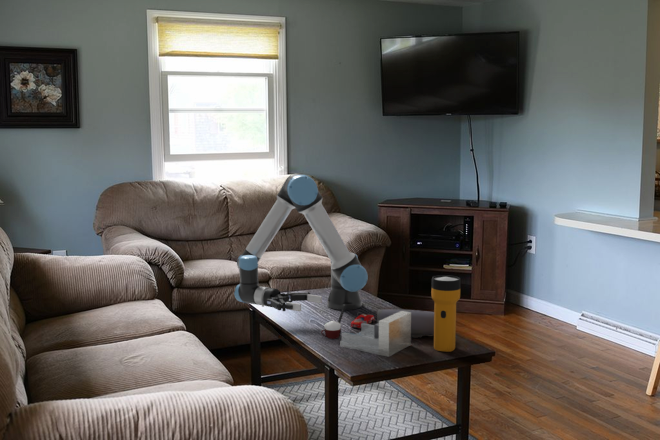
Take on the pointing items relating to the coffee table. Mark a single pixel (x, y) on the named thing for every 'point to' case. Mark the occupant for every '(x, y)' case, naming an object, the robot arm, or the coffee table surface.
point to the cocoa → (333, 327)
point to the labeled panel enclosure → (382, 336)
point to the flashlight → (445, 310)
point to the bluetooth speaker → (413, 321)
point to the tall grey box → (376, 330)
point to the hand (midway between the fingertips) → (311, 303)
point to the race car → (362, 320)
